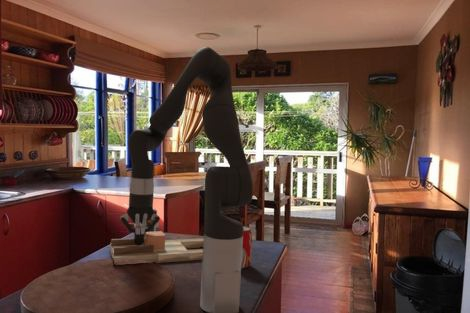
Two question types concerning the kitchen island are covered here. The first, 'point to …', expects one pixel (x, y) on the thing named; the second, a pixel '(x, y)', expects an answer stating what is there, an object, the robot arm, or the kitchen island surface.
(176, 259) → the wooden fixture board
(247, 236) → the soda can
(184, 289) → the kitchen island surface
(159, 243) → the block
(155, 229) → the supplement bottle
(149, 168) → the robot arm
